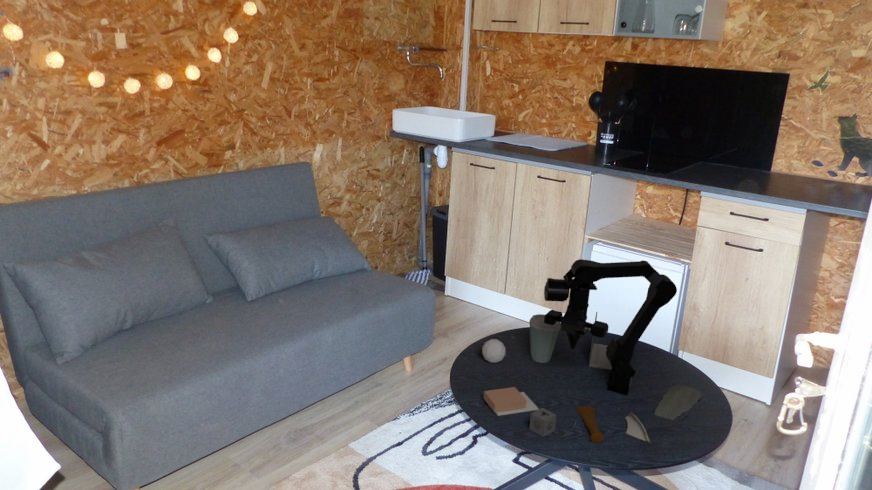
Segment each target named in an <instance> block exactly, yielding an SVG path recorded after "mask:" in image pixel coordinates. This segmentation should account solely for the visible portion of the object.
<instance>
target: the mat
mask: <svg viewBox="0 0 872 490" xmlns="http://www.w3.org/2000/svg"><path fill="white" fill-rule="evenodd" d="M519 392H520V391H519ZM520 393H521V395H522V396H523V397H524V398H525V399H526V400H527V401H526V408H521V409H515V410H508V411H501V412H494V413H495V414H496V416H498V417H499V416H506V415H512V414H518V413H526V412H532V411H533V412H534V411H537V410H538V409H539V407H538V406H537V405H536V404H535V402H534V401H532V399H530V397H529V396H528V395H527V394H526V393H525V392H524V391H521V392H520Z"/></svg>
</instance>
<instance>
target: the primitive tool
mask: <svg viewBox="0 0 872 490" xmlns="http://www.w3.org/2000/svg"><path fill="white" fill-rule="evenodd" d="M574 408H575V410H576V412H577V413H578V415H579V416H580V418H581V420H582V421H583V422H584V425H585V426H586V428H587V430H588V431H589V434H590V442H591V443H592V444H599V445H600V444H601V443H602V442H603V441H604V440H605V437H604V434H603V433H601V432H600V429H599V427H598V425H597V424H598V423H597V421H596V416H595V413H596V410H595V408H594V407H592V406H590V405H587V406H579V405H578V406H575V407H574Z"/></svg>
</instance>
